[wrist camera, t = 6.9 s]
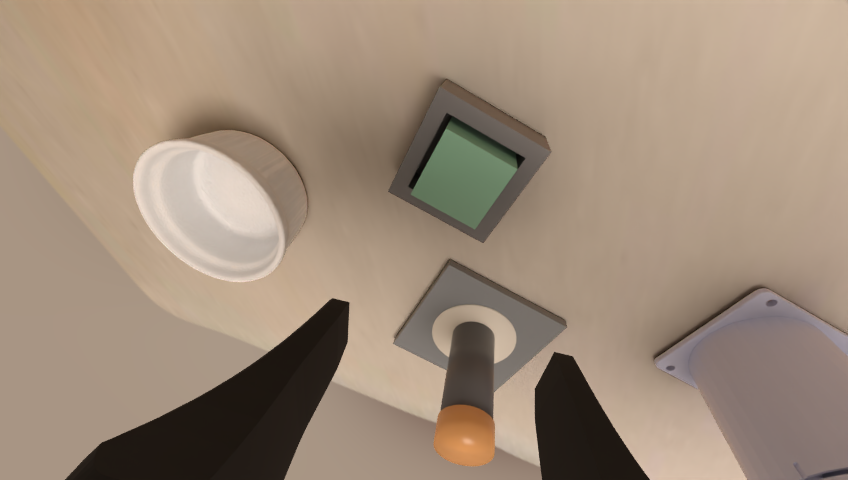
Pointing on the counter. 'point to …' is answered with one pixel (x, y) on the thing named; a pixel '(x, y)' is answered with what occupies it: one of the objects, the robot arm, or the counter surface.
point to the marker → (468, 398)
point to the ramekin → (221, 202)
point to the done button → (465, 173)
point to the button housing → (486, 121)
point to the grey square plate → (478, 302)
